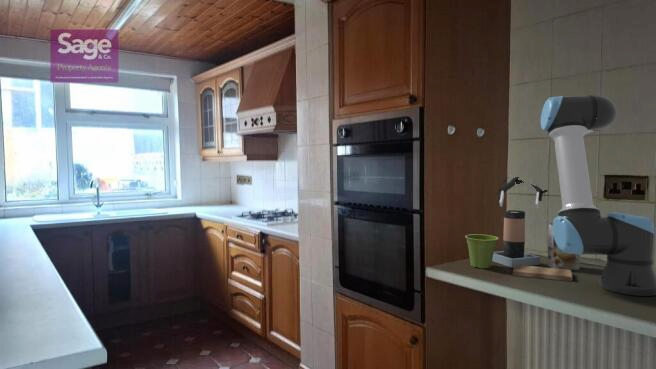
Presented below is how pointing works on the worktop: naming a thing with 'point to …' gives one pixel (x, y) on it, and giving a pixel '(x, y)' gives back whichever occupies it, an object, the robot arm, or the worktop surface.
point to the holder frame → (516, 259)
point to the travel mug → (514, 234)
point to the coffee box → (560, 255)
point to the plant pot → (481, 249)
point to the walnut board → (542, 272)
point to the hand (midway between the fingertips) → (518, 205)
